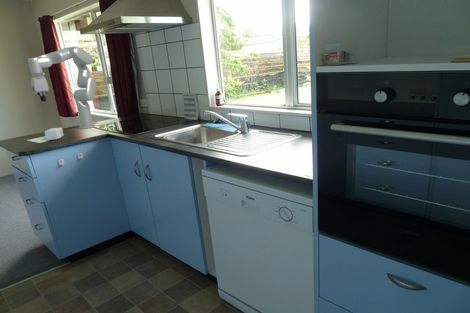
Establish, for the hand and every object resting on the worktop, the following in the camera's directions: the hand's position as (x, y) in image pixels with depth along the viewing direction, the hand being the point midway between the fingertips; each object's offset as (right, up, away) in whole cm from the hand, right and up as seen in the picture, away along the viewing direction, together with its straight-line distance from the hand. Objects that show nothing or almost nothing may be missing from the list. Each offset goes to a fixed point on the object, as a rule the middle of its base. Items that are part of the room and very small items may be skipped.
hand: (43, 101), depth 246 cm
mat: (0, -28, +1) cm, 28 cm away
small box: (+7, -22, +6) cm, 24 cm away
